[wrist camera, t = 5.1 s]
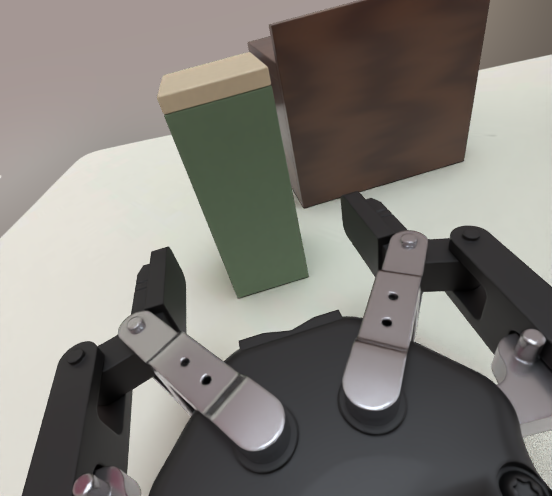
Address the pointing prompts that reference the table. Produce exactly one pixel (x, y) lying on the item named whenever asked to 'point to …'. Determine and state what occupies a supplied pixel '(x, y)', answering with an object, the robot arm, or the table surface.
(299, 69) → the shelf
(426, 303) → the table surface
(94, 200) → the table surface
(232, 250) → the carton
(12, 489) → the table surface
